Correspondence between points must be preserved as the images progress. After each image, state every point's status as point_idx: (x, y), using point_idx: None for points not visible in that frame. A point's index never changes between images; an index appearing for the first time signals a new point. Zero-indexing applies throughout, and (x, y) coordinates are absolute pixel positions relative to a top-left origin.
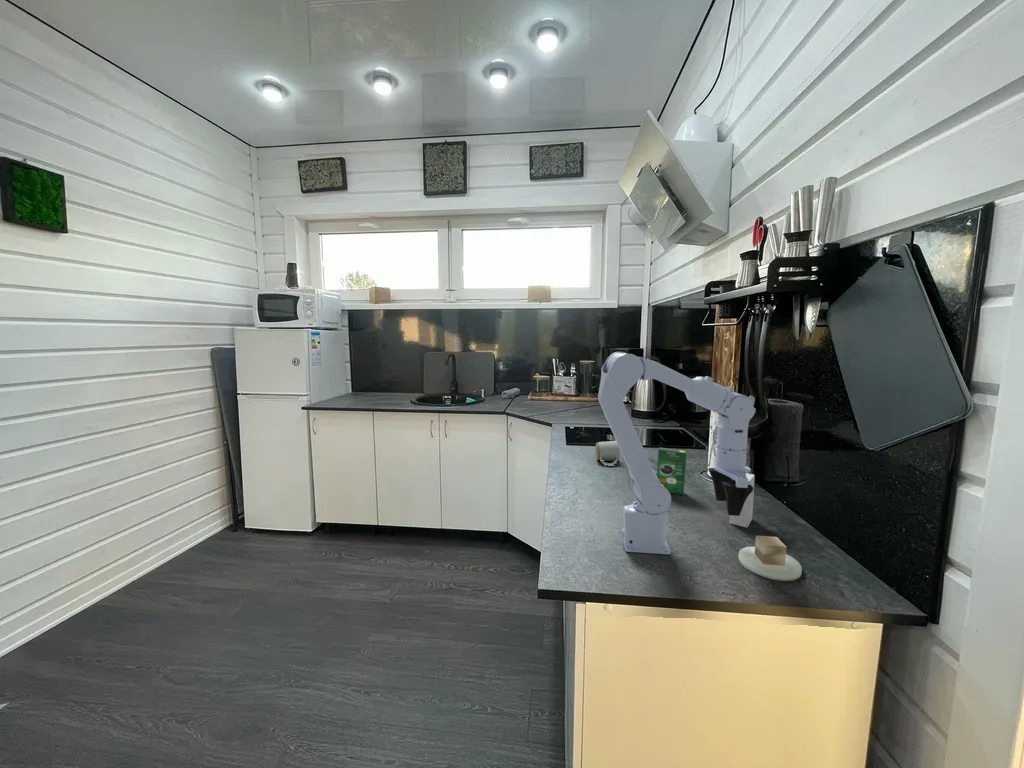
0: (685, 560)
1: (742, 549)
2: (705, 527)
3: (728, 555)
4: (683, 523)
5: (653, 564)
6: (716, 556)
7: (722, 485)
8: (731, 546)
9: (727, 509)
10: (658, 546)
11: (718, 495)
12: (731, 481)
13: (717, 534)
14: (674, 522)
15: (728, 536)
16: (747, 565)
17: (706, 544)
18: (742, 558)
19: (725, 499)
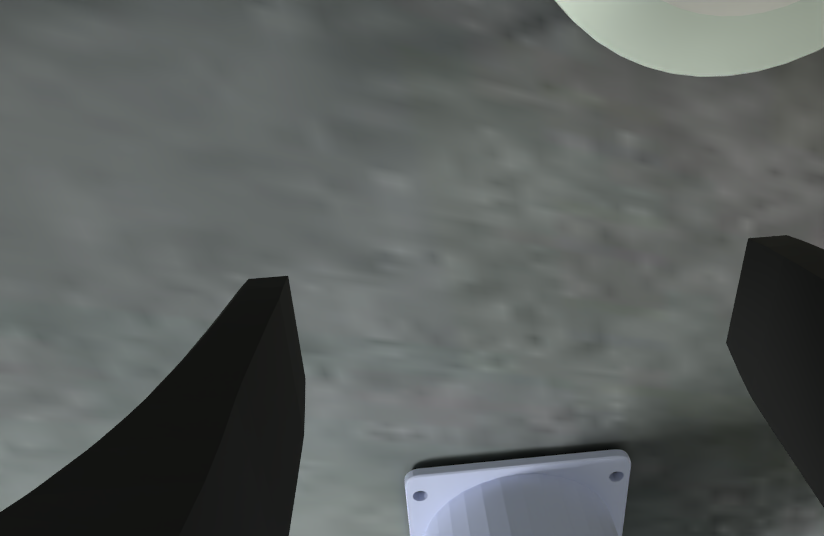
0: (676, 382)
1: (581, 14)
2: (130, 192)
3: (600, 120)
4: (122, 337)
5: (717, 512)
6: (620, 206)
7: (256, 517)
8: (447, 58)
9: (765, 397)
10: (613, 526)
11: (298, 424)
12: (218, 477)
13: (242, 122)
14: (131, 390)
15: (253, 34)
16: (818, 46)
17: (448, 238)
18: (730, 60)
19: (291, 307)
